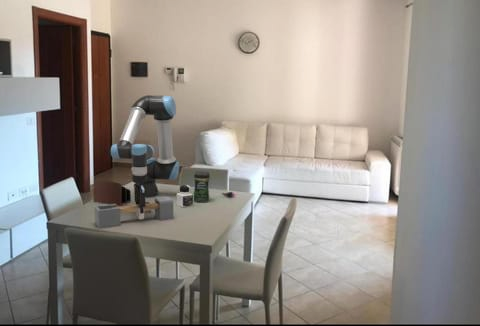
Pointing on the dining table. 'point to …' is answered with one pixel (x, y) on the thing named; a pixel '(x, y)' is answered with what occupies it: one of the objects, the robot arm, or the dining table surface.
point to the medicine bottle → (184, 197)
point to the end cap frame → (111, 216)
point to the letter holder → (111, 193)
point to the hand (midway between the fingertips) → (140, 217)
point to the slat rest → (147, 210)
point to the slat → (135, 208)
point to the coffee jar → (201, 186)
